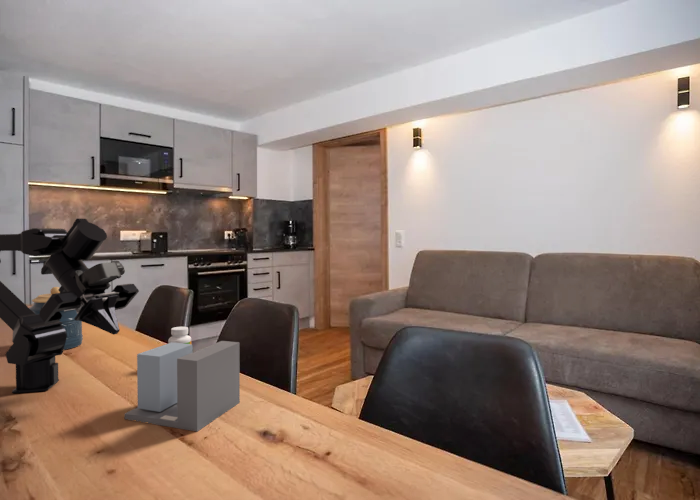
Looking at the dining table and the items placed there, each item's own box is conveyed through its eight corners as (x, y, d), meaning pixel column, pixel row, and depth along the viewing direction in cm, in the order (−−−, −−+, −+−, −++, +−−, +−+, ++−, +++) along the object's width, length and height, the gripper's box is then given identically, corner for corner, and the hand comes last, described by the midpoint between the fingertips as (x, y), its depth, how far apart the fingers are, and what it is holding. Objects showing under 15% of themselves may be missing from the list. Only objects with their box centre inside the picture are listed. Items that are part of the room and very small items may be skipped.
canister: (83, 348, 123) (82, 287, 122) (27, 355, 116) (26, 290, 115) (81, 339, 134) (81, 283, 133) (30, 344, 126) (29, 285, 126)
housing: (124, 419, 76) (123, 352, 76) (174, 393, 88) (174, 336, 88) (197, 431, 71) (196, 360, 71) (239, 402, 84) (239, 342, 83)
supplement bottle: (183, 370, 103) (183, 331, 103) (163, 369, 104) (163, 329, 104) (195, 364, 109) (195, 326, 108) (176, 362, 110) (176, 325, 109)
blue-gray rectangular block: (137, 408, 78) (137, 354, 77) (172, 391, 86) (171, 342, 86) (160, 411, 76) (159, 356, 76) (192, 394, 85) (192, 344, 84)
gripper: (49, 249, 76) (98, 314, 74) (131, 247, 94) (173, 299, 91) (19, 291, 79) (64, 355, 76) (104, 281, 97) (143, 332, 94)
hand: (116, 332), depth 84 cm, fingers closed
